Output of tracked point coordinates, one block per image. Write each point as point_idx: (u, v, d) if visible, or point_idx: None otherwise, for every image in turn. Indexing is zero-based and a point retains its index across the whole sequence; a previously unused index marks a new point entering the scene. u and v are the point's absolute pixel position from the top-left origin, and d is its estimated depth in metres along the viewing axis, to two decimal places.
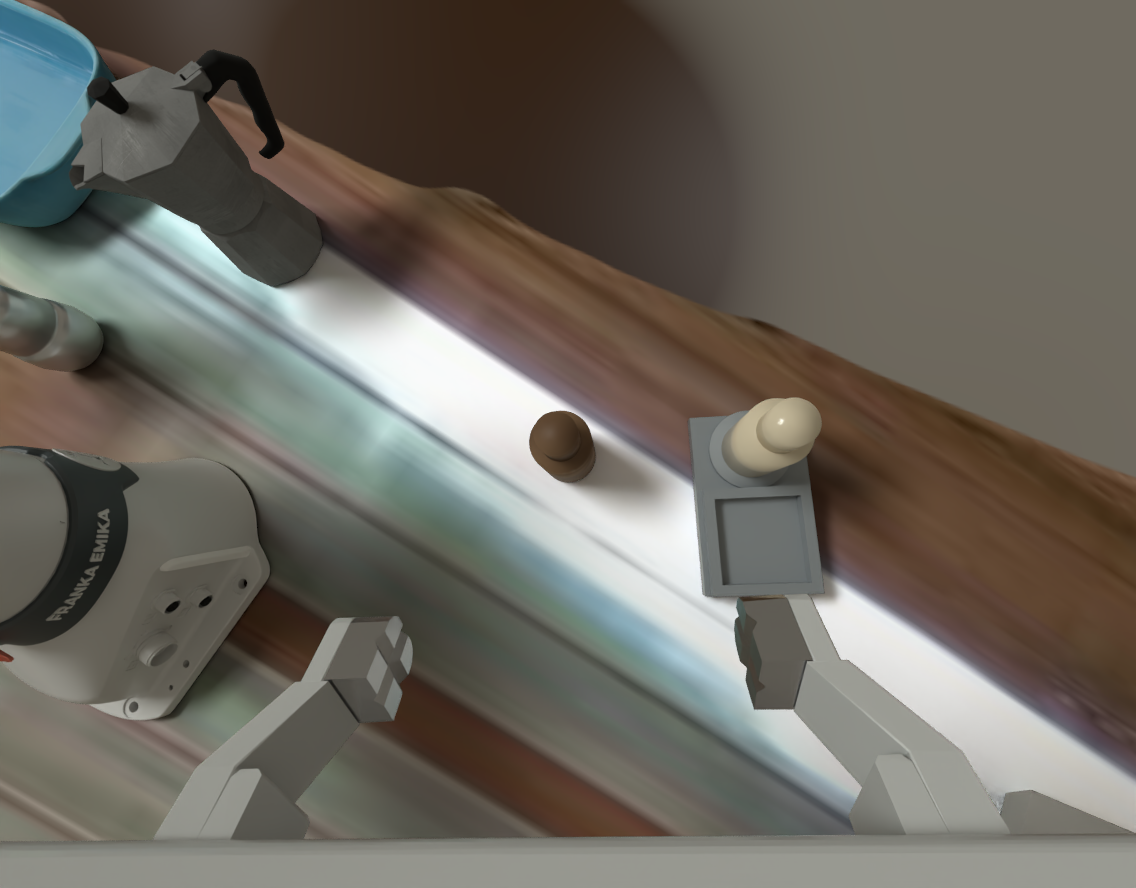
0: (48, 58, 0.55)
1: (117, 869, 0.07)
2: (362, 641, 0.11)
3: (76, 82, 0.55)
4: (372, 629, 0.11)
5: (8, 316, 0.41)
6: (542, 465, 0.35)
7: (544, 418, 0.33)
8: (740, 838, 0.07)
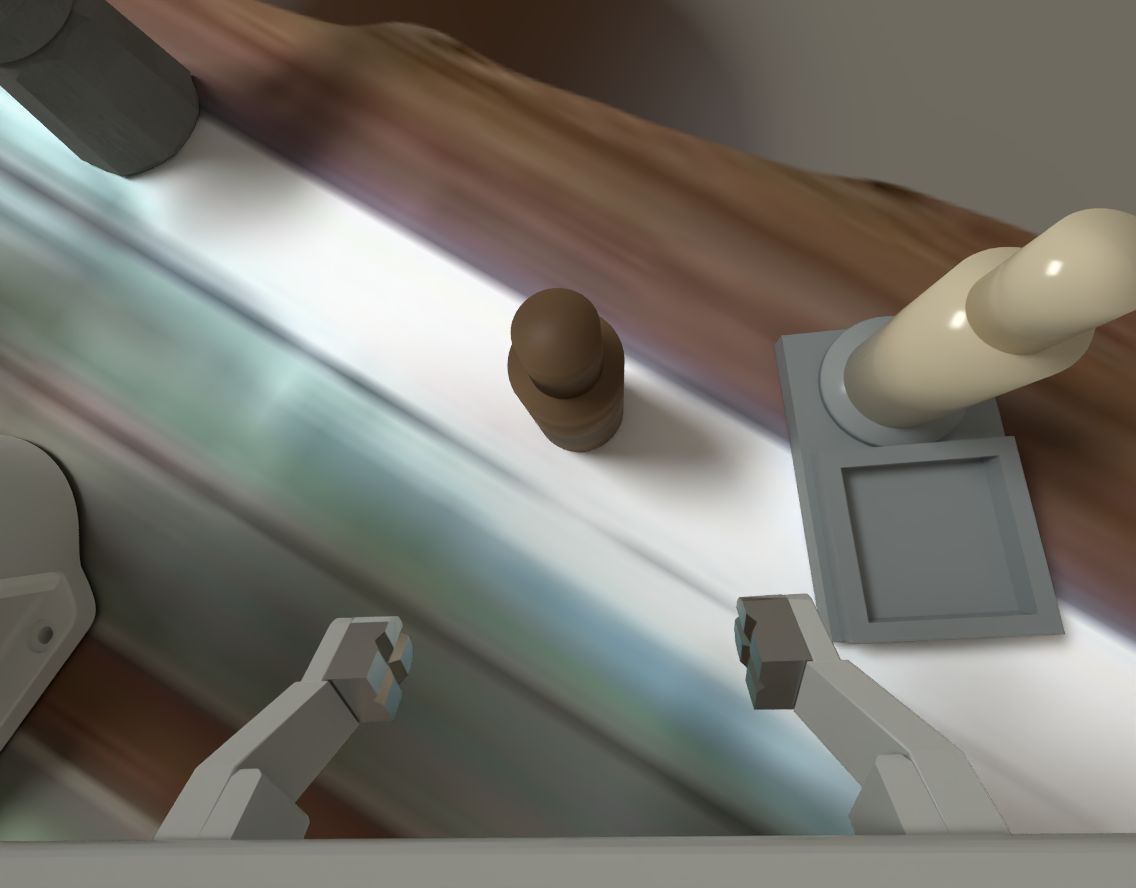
0: None
1: (117, 869, 0.07)
2: (362, 641, 0.11)
3: None
4: (373, 629, 0.11)
5: None
6: (533, 407, 0.19)
7: (532, 302, 0.16)
8: (740, 838, 0.07)
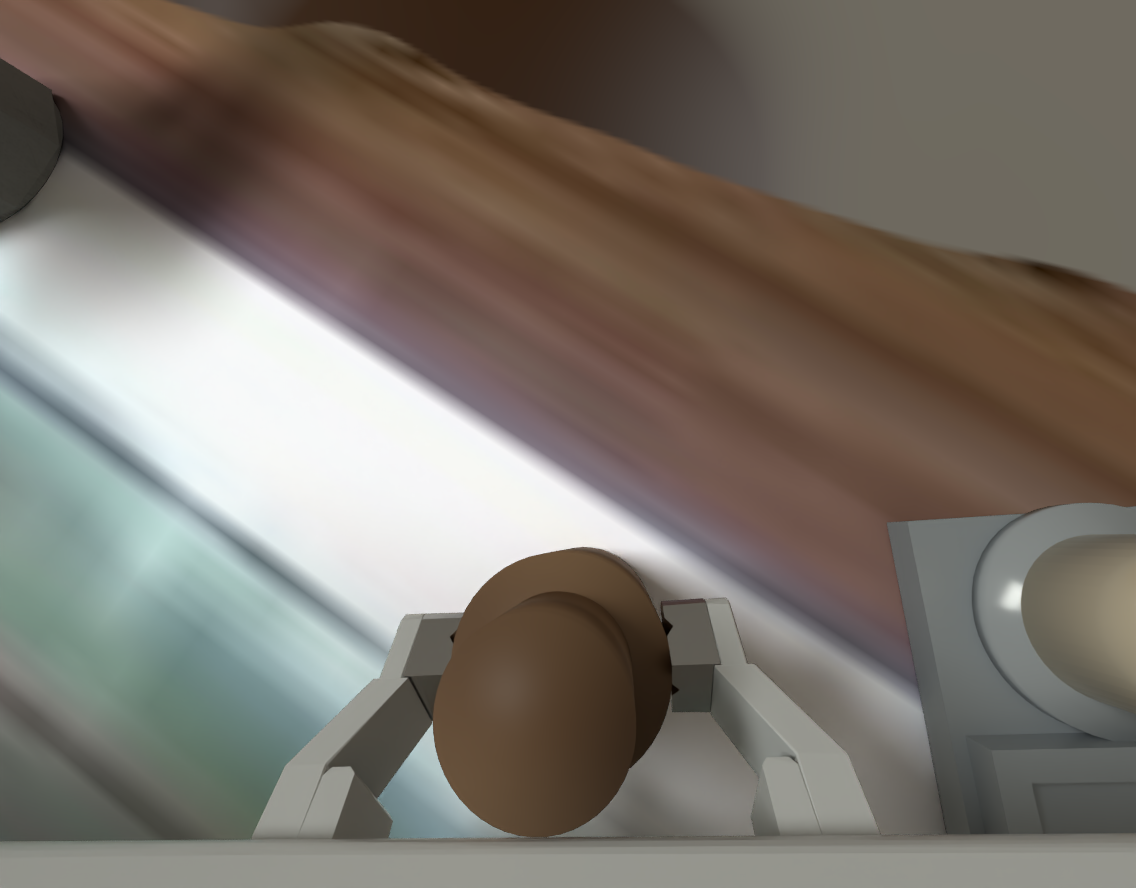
0: None
1: (117, 869, 0.07)
2: (437, 637, 0.11)
3: None
4: (446, 626, 0.11)
5: None
6: None
7: (482, 645, 0.07)
8: (740, 838, 0.07)
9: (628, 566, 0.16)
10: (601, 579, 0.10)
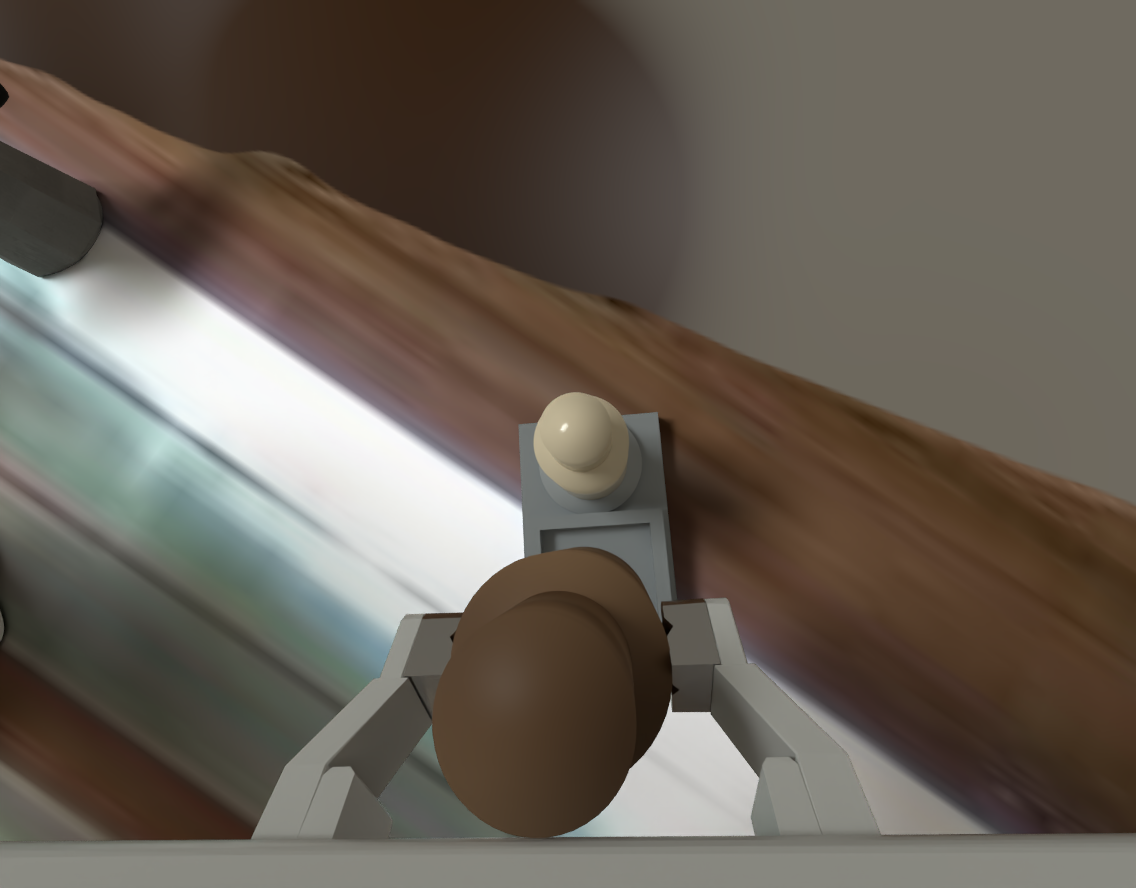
0: None
1: (117, 869, 0.07)
2: (437, 637, 0.11)
3: None
4: (446, 625, 0.11)
5: None
6: None
7: (482, 645, 0.07)
8: (740, 838, 0.07)
9: (628, 566, 0.16)
10: (601, 579, 0.10)
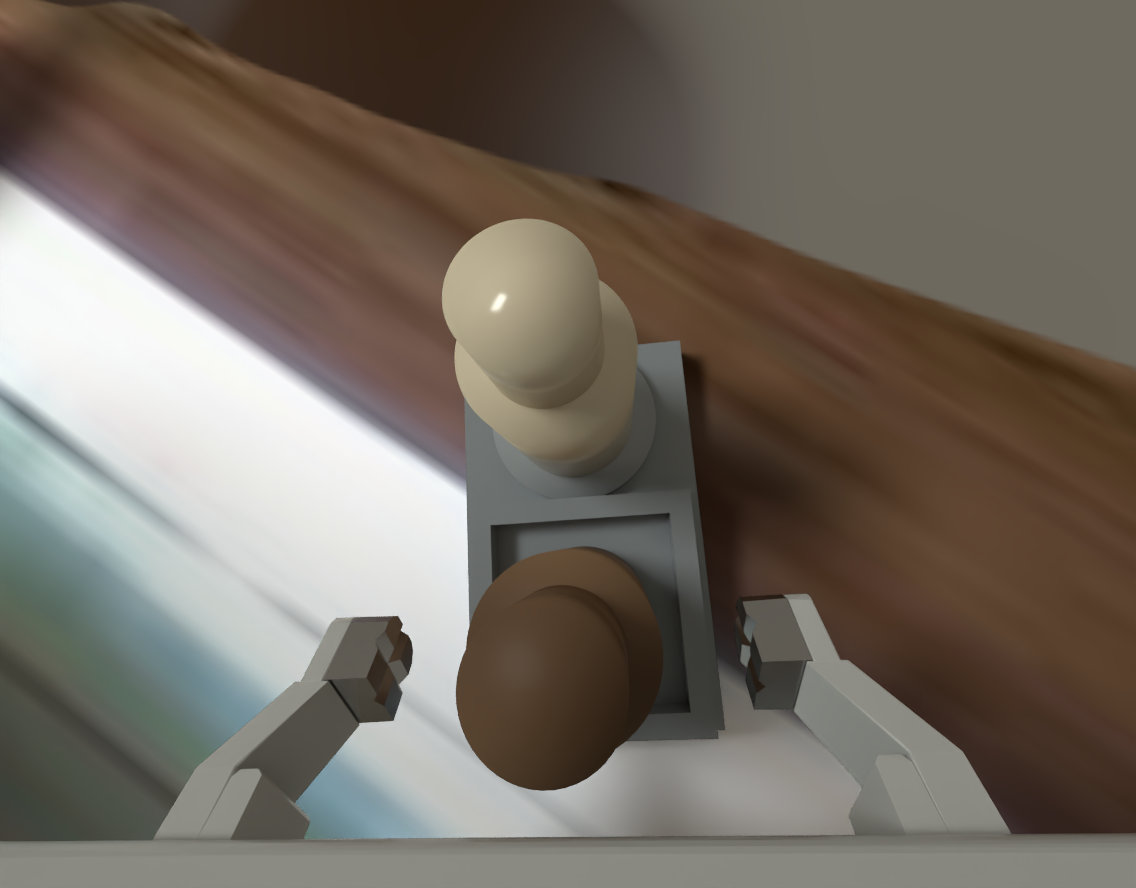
0: None
1: (117, 869, 0.07)
2: (362, 641, 0.11)
3: None
4: (372, 629, 0.11)
5: None
6: None
7: (498, 629, 0.09)
8: (740, 838, 0.07)
9: (626, 564, 0.17)
10: (600, 574, 0.11)
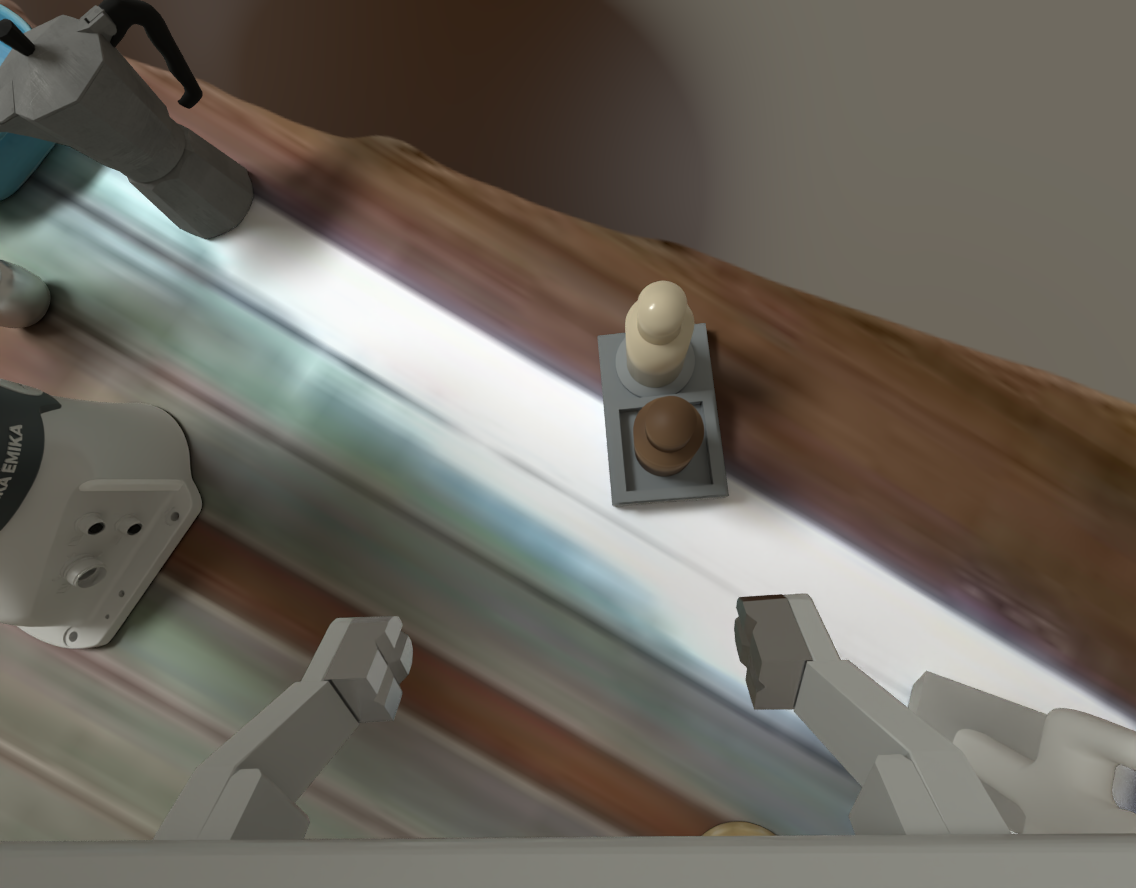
0: None
1: (117, 869, 0.07)
2: (362, 641, 0.11)
3: None
4: (373, 629, 0.11)
5: None
6: (650, 458, 0.32)
7: (657, 404, 0.29)
8: (740, 838, 0.07)
9: None
10: None
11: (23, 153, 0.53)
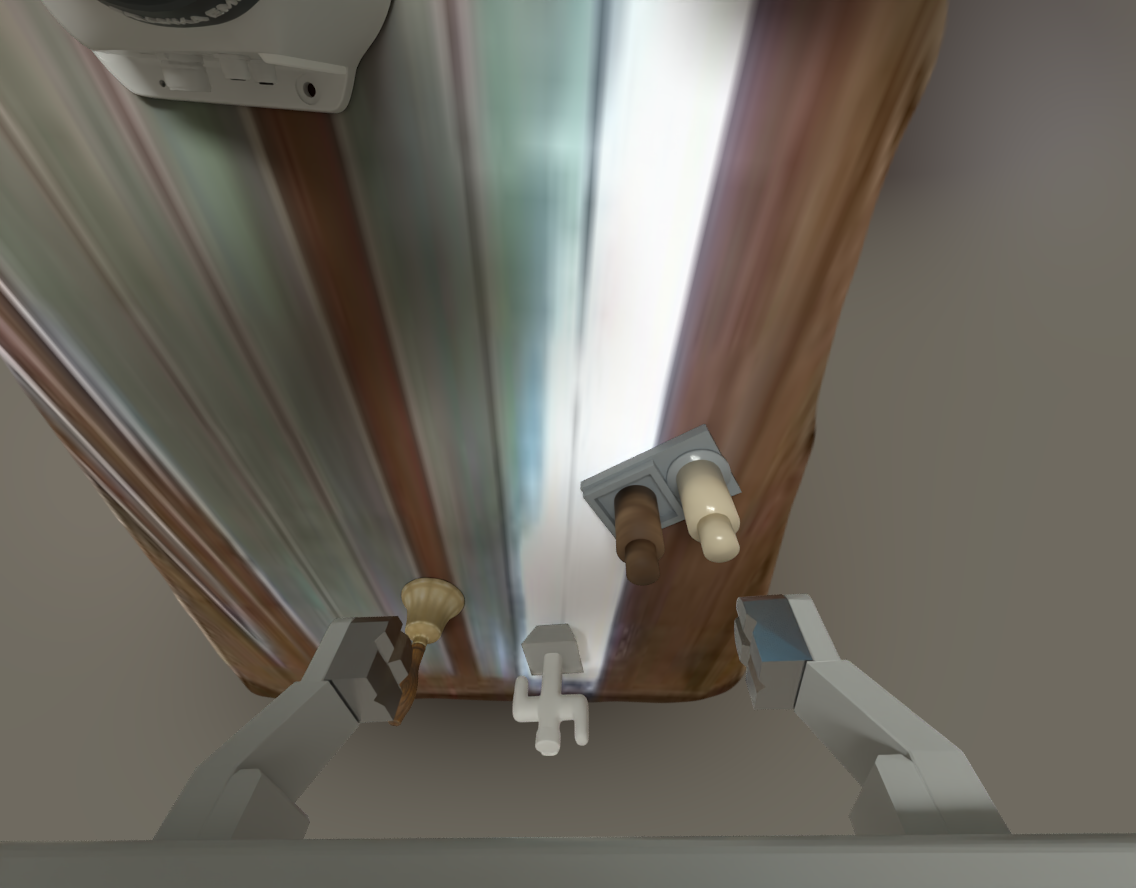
0: None
1: (117, 869, 0.07)
2: (362, 641, 0.11)
3: None
4: (372, 630, 0.11)
5: None
6: (617, 548, 0.46)
7: (649, 565, 0.43)
8: (740, 838, 0.07)
9: None
10: (661, 549, 0.46)
11: None
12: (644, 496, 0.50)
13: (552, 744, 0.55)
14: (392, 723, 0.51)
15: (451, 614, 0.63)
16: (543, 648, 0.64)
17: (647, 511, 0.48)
